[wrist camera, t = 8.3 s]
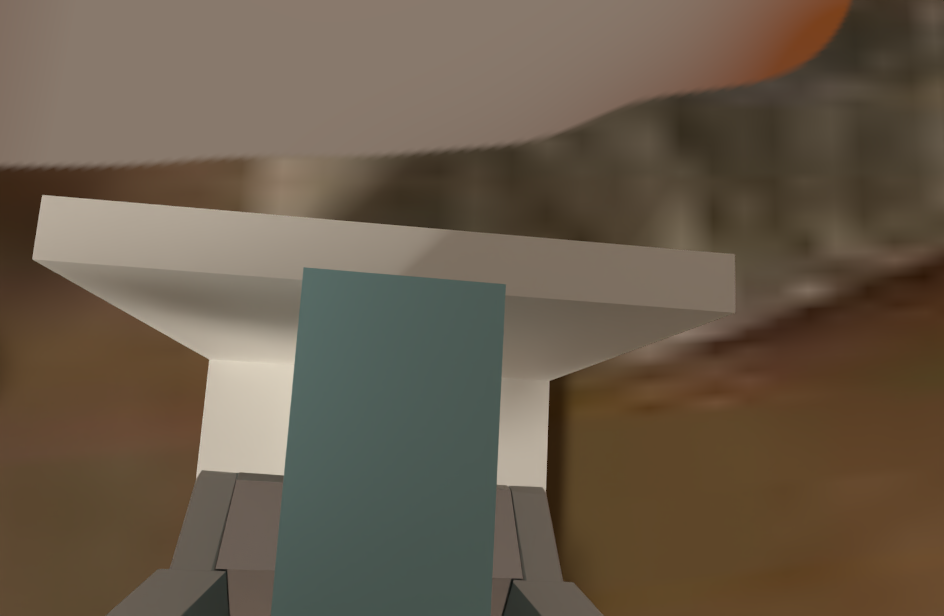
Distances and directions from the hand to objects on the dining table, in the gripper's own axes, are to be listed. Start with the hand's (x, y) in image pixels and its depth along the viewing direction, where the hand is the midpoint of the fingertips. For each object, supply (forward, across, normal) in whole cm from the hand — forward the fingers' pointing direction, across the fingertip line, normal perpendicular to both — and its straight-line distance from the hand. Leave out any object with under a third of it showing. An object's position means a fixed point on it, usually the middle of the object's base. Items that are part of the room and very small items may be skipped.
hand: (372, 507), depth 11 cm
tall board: (+5, 0, +6) cm, 7 cm away
